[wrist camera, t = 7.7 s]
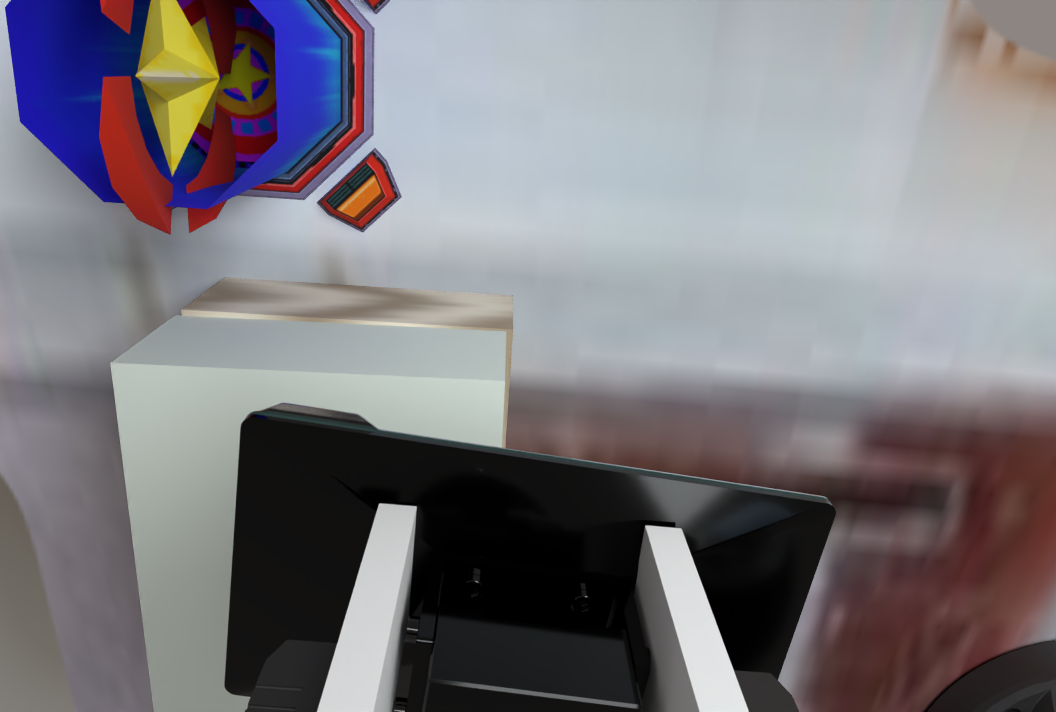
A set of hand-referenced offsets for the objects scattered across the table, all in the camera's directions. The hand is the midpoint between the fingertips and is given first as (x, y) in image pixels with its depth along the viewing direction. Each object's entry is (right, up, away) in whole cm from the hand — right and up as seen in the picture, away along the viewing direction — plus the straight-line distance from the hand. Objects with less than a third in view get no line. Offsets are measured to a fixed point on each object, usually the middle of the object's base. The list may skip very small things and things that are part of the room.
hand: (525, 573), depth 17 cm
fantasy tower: (-11, +15, +15) cm, 24 cm away
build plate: (0, -1, +1) cm, 1 cm away
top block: (-7, -1, +15) cm, 17 cm away
